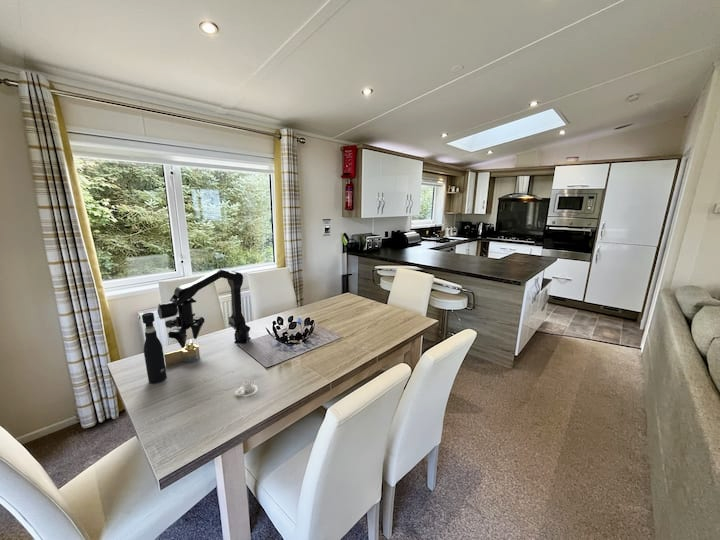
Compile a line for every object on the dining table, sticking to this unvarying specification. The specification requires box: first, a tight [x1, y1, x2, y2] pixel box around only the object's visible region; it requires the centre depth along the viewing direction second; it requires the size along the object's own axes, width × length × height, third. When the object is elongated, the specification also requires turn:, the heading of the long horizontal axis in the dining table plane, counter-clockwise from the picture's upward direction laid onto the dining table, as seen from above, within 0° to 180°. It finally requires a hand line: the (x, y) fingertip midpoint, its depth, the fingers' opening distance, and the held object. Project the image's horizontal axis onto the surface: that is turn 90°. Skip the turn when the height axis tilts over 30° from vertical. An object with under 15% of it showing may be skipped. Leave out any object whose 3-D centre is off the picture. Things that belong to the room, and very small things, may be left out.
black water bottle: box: [141, 312, 168, 385], centre depth 120 cm, size 6×6×30 cm
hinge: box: [163, 338, 201, 367], centre depth 140 cm, size 12×16×6 cm
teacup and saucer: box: [234, 379, 259, 397], centre depth 117 cm, size 9×8×4 cm
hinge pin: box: [185, 342, 194, 350], centre depth 139 cm, size 3×3×8 cm
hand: (189, 343), depth 138 cm, fingers open, 9 cm apart
